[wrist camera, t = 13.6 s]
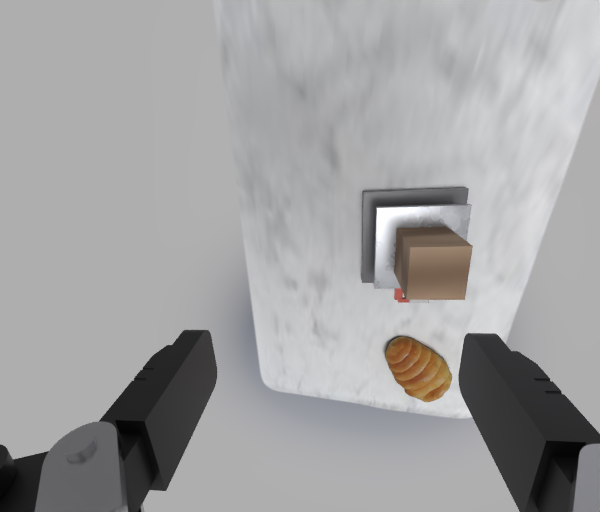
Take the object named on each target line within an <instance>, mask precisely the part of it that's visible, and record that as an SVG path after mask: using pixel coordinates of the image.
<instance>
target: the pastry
mask: <svg viewBox="0 0 600 512" xmlns="http://www.w3.org/2000/svg"><path fill="white" fill-rule="evenodd" d="M385 358H386V360H387V362H388V365H389V369H390V370H391V371H392V373H393V375H394V378H395V380H396V381H397V383H398V384H400V385H401V386H402V387H403V388H404V389H405V392H406V393H407V394H408V395H410V396H412V397H415V398H417V399H420V400H422V401H424V402H431V401H434V400H437V399H439V398H440V397H442V396H443V394H444V393H445V392H446V391H447V390H448V389H449V387H450V384H451V381H452V374H451V372H450V371H449V368H448V365H447V363H446V362H445V361H444V360H443V359H442V358H441V357H440V356H439V355H438V354H436V353H435V352H433V351H432V350H430V349H429V348H428V347H426V346H424V345H422V344H421V343H419V342H417V341H416V340H414V339H412V338H408V337H404V336H401V337H397V338H396V339H394V340H393V341H391V342H390V343H389V345H388V347H387V351H386V353H385Z"/></svg>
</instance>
